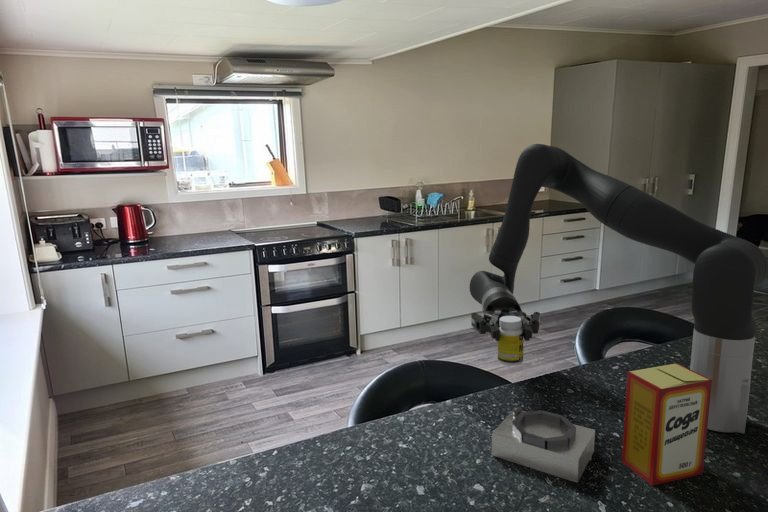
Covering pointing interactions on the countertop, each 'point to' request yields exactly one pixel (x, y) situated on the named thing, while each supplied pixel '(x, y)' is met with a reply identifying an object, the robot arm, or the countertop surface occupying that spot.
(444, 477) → the countertop surface
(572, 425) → the octagon ring base plate
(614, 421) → the countertop surface
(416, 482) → the countertop surface
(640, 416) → the baking soda box
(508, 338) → the supplement bottle
